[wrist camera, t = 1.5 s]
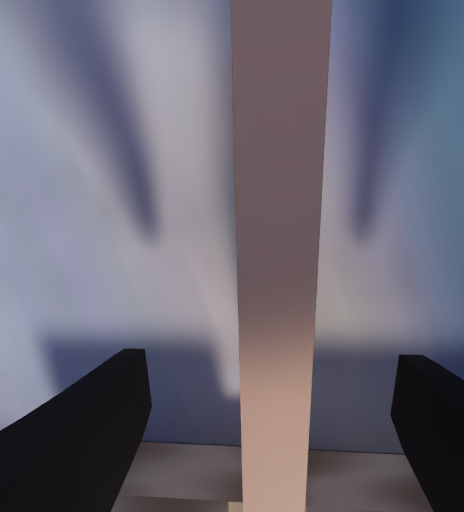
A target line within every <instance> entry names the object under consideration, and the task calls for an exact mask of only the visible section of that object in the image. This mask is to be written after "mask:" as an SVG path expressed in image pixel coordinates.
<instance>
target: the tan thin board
mask: <svg viewBox="0 0 464 512" xmlns="http://www.w3.org/2000/svg"><path fill="white" fill-rule="evenodd" d="M331 11H332V0H231V29H232V71H233V112H234V154H235V196H236V238H237V279H238V321H239V363H240V404H241V446H242V488H243V512H305V501H306V482H307V463H308V444H309V426H310V407H311V388H312V369H313V350H314V331H315V312H316V293H317V275H318V256H319V237H320V218H321V199H322V180H323V161H324V143H325V124H326V105H327V86H328V67H329V48H330V29H331Z"/></svg>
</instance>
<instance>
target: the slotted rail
mask: <svg viewBox="0 0 464 512" xmlns="http://www.w3.org/2000/svg"><path fill="white" fill-rule="evenodd" d="M111 512H243V488H242V447H235V446H215V445H195V444H175V443H155V442H141V443H140V445H139V448H138V450H137V453H136V455H135V457H134V460H133V462H132V464H131V467H130V469H129V471H128V474H127V476H126V478H125V480H124V483H123V485H122V487H121V489H120V492H119V494H118V496H117V499H116V501H115V503H114V505H113V508H112V510H111ZM305 512H433V510H432V508H431V506H430V504H429V502H428V500H427V498H426V496H425V494H424V492H423V490H422V488H421V486H420V484H419V482H418V480H417V478H416V476H415V474H414V472H413V470H412V468H411V466H410V464H409V462H408V460H407V458H406V456H405V455H397V454H377V453H356V452H336V451H316V450H308V463H307V482H306V501H305Z"/></svg>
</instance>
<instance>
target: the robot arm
mask: <svg viewBox="0 0 464 512" xmlns="http://www.w3.org/2000/svg"><path fill="white" fill-rule="evenodd" d="M151 407H152V403H151V395H150V387H149V379H148V371H147V363H146V355H145V349H123V350H122V351H120V352H118V353H117V354H115V355H114V356H112V357H111V358H110V359H108V360H107V361H105V362H104V363H102V364H101V365H100V366H98V367H97V368H95V369H94V370H93V371H91V372H90V373H88V374H87V375H85V376H84V377H83V378H81V379H80V380H78V381H77V382H75V383H74V384H73V385H71V386H70V387H68V388H67V389H65V390H64V391H63V392H61V393H59V394H58V395H56V396H55V397H53V398H52V399H50V400H49V401H47V402H46V403H44V404H43V405H41V406H39V407H38V408H36V409H35V410H33V411H32V412H30V413H29V414H27V415H26V416H24V417H22V418H21V419H19V420H17V421H16V422H14V423H12V424H11V425H9V426H7V427H6V428H4V429H2V430H1V431H0V512H111V510H112V508H113V505H114V503H115V501H116V499H117V496H118V494H119V492H120V489H121V487H122V485H123V483H124V480H125V478H126V476H127V474H128V471H129V469H130V467H131V464H132V462H133V460H134V457H135V455H136V453H137V450H138V448H139V445H140V443H141V441H142V437H143V434H144V431H145V428H146V425H147V421H148V418H149V414H150V411H151ZM391 418H392V421H393V424H394V426H395V429H396V432H397V435H398V438H399V440H400V443H401V446H402V448H403V451H404V453H405V456H406V458H407V460H408V462H409V464H410V466H411V468H412V470H413V472H414V474H415V476H416V478H417V480H418V482H419V484H420V486H421V488H422V490H423V492H424V494H425V496H426V498H427V500H428V502H429V504H430V506H431V508H432V510H433V512H464V380H463V379H461V378H459V377H458V376H456V375H455V374H453V373H452V372H450V371H449V370H447V369H445V368H444V367H442V366H441V365H439V364H437V363H436V362H434V361H432V360H431V359H429V358H427V357H425V356H423V355H400V354H399V360H398V367H397V374H396V381H395V388H394V394H393V401H392V408H391Z"/></svg>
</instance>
